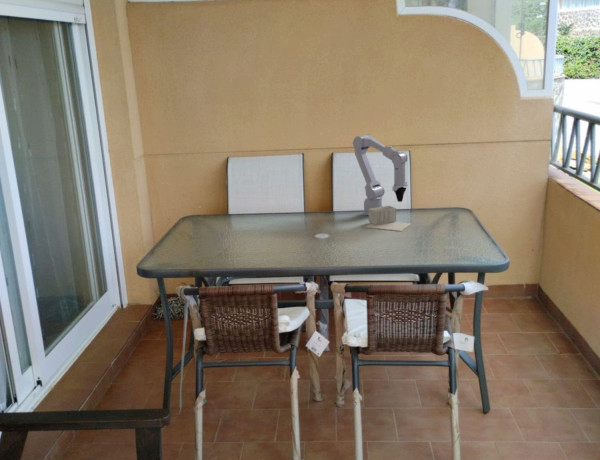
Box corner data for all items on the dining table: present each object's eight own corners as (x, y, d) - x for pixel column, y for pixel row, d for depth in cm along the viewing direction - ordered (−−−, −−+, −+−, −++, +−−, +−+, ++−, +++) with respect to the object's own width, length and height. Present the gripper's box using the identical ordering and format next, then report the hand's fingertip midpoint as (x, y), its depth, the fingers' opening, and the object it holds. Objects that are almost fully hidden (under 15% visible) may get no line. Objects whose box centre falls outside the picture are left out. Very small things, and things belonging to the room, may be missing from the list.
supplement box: (389, 218, 320) (368, 222, 315) (389, 205, 318) (368, 208, 313) (396, 222, 313) (375, 225, 308) (396, 208, 311) (375, 211, 306)
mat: (364, 227, 307) (364, 226, 307) (376, 220, 318) (375, 220, 318) (401, 231, 297) (401, 230, 297) (411, 224, 308) (411, 223, 308)
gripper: (401, 179, 306) (401, 205, 310) (412, 174, 318) (412, 199, 322) (388, 178, 310) (388, 203, 314) (399, 173, 322) (400, 198, 325)
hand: (399, 201), depth 318 cm, fingers closed
